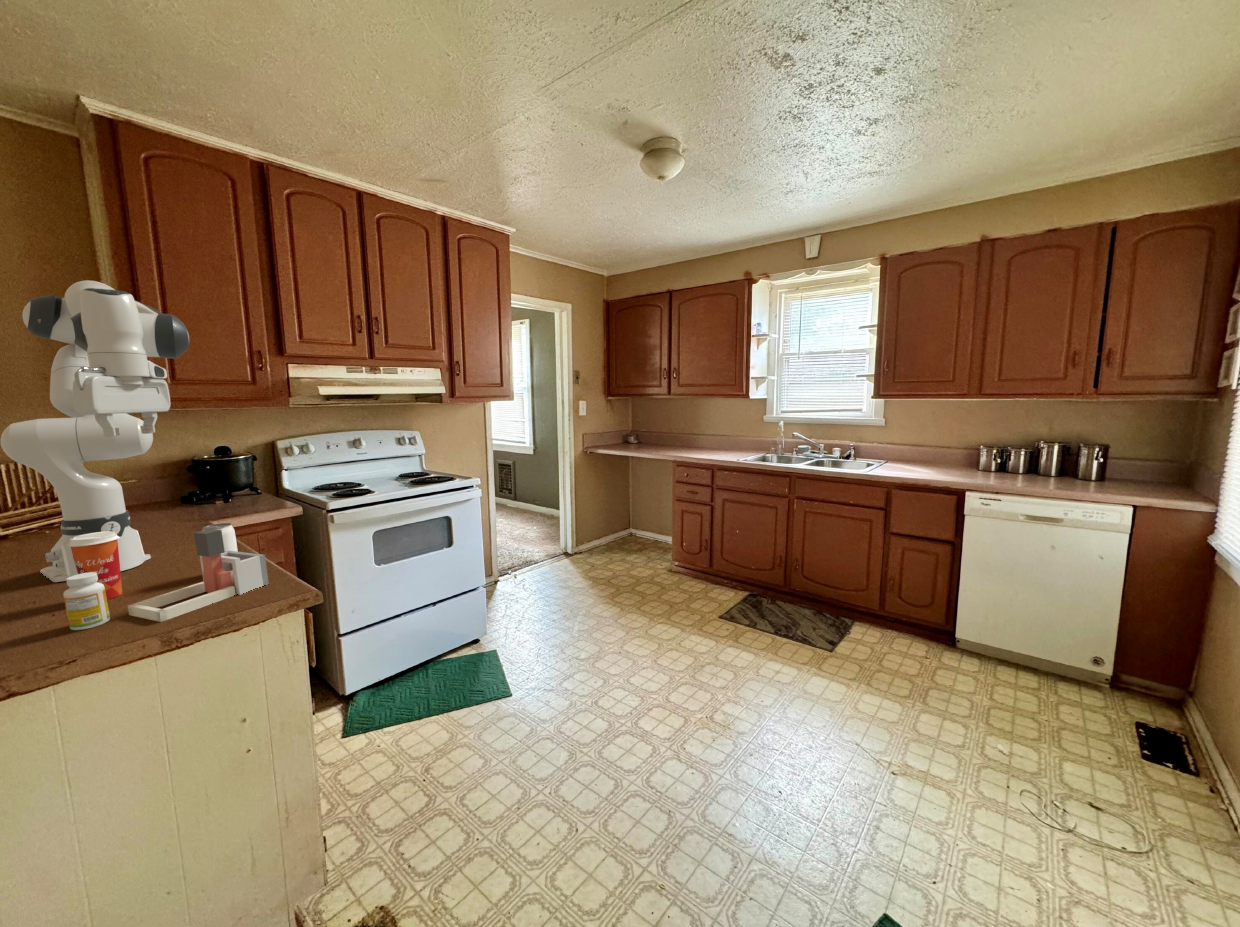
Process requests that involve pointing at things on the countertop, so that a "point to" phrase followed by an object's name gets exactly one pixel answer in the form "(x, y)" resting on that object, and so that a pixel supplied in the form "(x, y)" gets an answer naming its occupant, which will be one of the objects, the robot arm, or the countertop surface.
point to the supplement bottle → (85, 601)
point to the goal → (244, 570)
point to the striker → (212, 559)
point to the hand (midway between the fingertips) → (131, 435)
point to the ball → (232, 578)
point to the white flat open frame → (152, 612)
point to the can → (225, 535)
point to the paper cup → (99, 559)
